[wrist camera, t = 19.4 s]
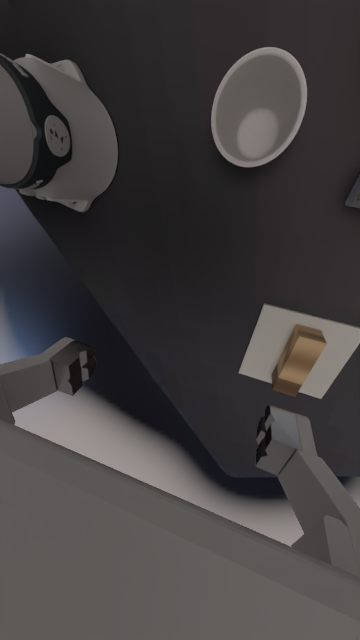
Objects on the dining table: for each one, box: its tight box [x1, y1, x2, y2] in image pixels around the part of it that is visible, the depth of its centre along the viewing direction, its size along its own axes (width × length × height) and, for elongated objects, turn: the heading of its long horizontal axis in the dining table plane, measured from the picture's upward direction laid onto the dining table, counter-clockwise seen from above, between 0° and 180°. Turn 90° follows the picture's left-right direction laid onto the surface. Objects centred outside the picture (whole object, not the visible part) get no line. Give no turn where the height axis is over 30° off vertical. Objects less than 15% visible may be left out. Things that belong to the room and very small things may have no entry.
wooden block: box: [271, 324, 327, 397], centre depth 40 cm, size 12×4×4 cm, turn 171°
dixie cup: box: [211, 47, 307, 167], centre depth 25 cm, size 8×8×10 cm
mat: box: [239, 303, 360, 399], centre depth 42 cm, size 16×16×1 cm
